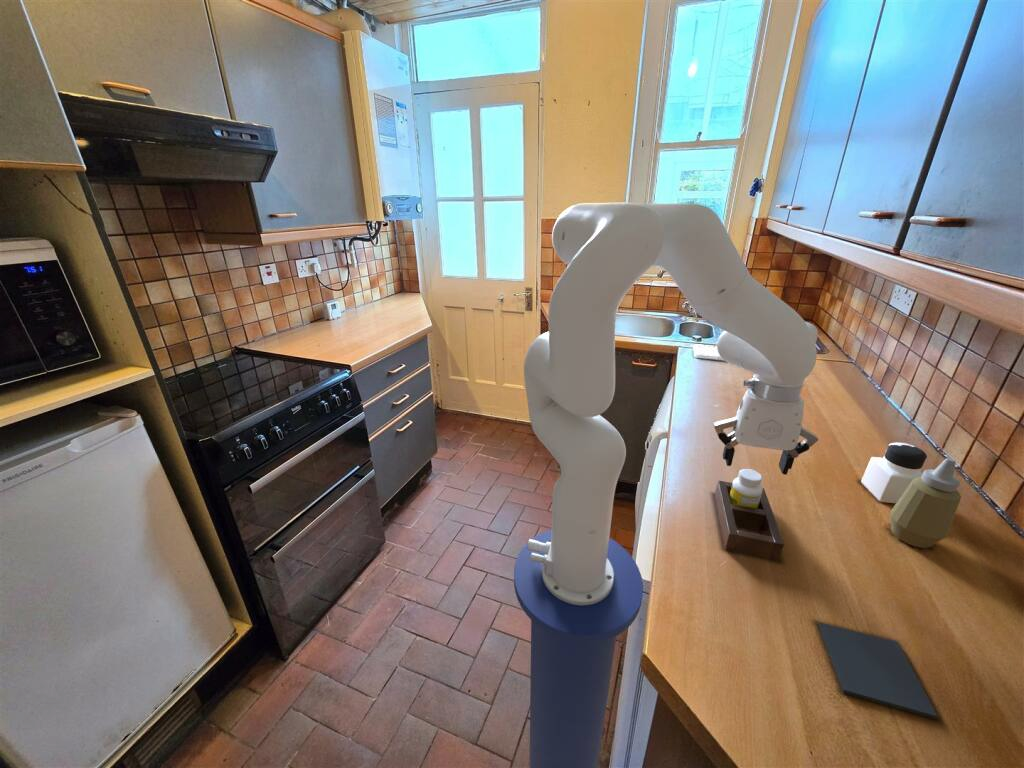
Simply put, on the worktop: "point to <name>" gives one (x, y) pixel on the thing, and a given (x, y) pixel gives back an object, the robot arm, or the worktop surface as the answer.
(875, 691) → the mat
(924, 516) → the squeeze bottle
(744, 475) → the supplement bottle
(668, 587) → the worktop surface
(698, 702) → the worktop surface
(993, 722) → the worktop surface
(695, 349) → the white flat block
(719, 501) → the rack
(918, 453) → the medicine bottle
